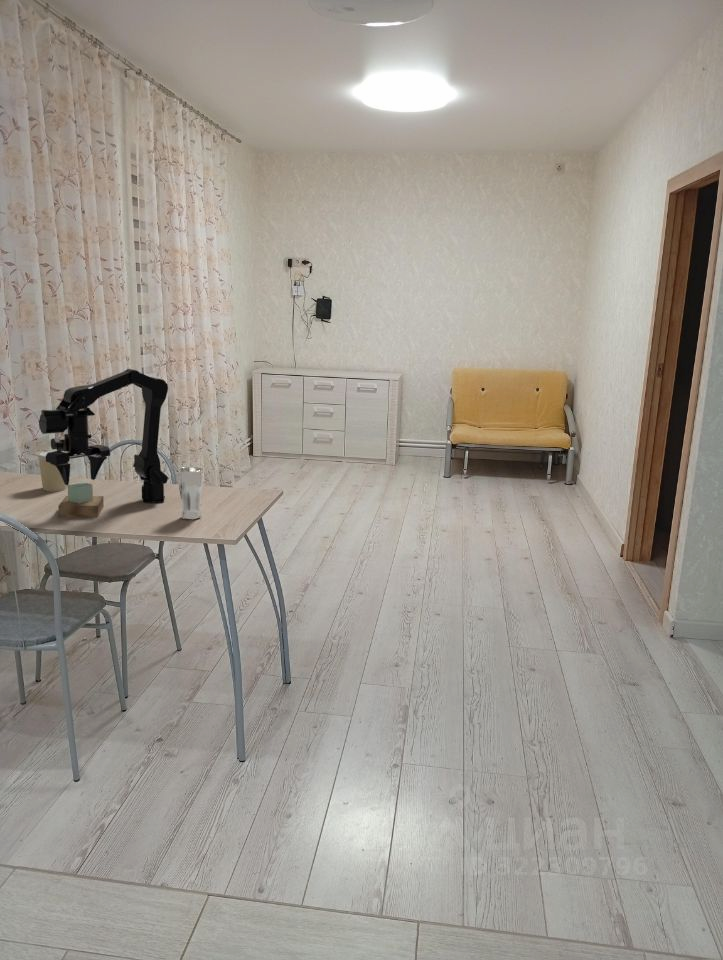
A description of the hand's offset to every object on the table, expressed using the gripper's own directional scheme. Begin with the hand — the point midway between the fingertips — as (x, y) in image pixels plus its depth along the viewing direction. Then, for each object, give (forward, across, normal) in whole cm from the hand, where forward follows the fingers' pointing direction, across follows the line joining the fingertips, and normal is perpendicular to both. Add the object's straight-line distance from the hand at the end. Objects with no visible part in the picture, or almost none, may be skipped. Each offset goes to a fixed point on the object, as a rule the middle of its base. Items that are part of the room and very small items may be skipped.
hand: (80, 482), depth 226 cm
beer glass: (+9, -18, +28) cm, 35 cm away
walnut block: (+10, 0, 0) cm, 10 cm away
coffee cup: (+10, -12, -29) cm, 33 cm away
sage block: (+6, 0, 0) cm, 6 cm away
